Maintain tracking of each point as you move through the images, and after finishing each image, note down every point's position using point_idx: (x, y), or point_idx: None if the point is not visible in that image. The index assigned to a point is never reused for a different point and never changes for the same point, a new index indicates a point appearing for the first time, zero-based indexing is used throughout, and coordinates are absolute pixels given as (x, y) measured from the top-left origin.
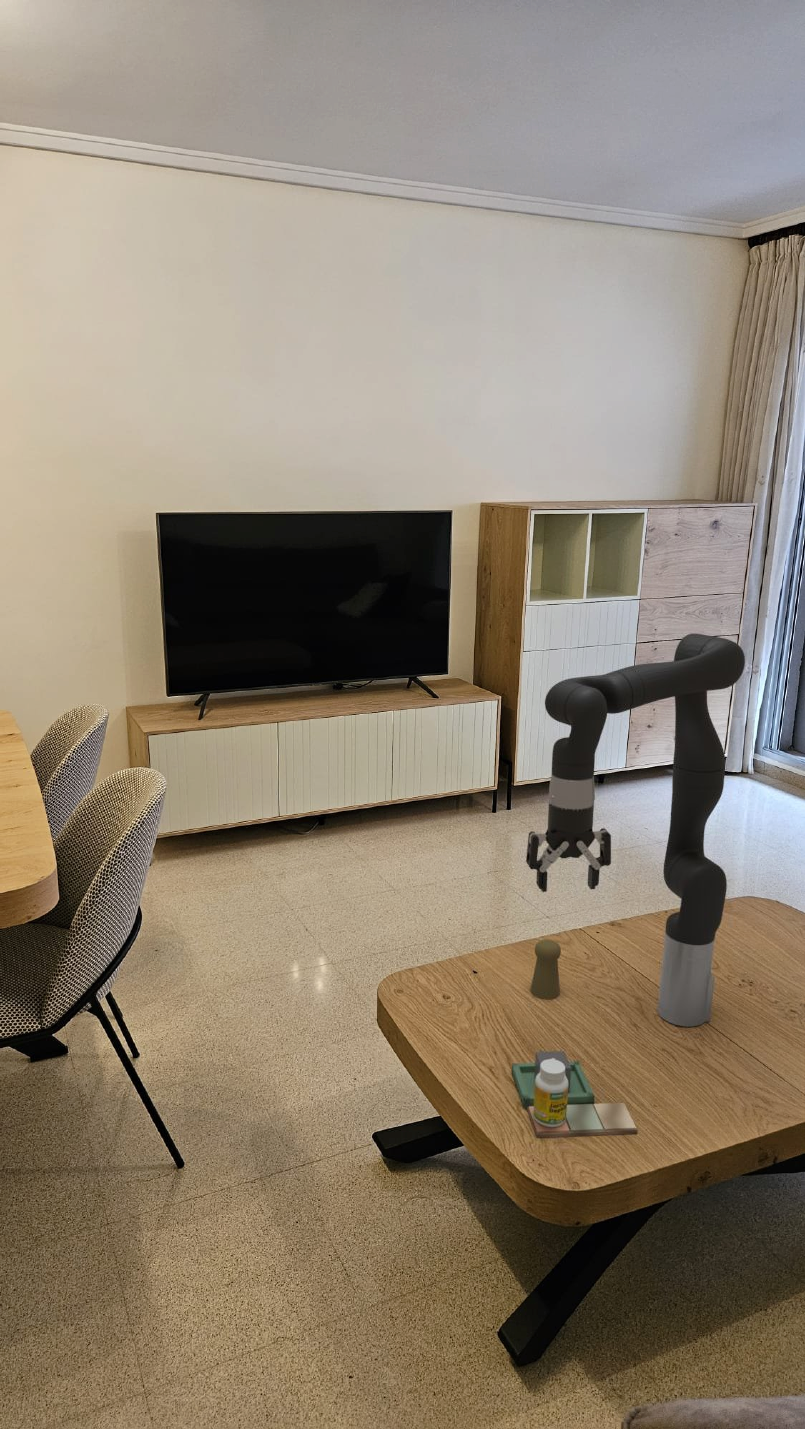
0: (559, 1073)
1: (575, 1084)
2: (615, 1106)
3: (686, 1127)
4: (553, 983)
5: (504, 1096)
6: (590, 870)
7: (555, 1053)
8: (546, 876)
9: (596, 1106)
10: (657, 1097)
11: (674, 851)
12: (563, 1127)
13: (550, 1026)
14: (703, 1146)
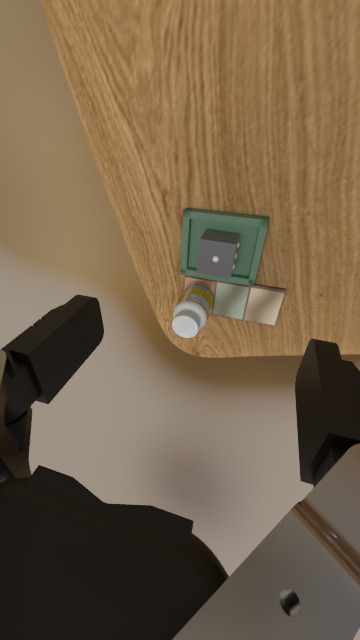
0: (188, 337)
1: (248, 250)
2: (271, 296)
3: (329, 329)
4: None
5: (169, 248)
6: (310, 443)
7: (223, 247)
8: (58, 386)
9: (252, 291)
10: (334, 284)
11: None
12: None
13: (285, 82)
14: None
